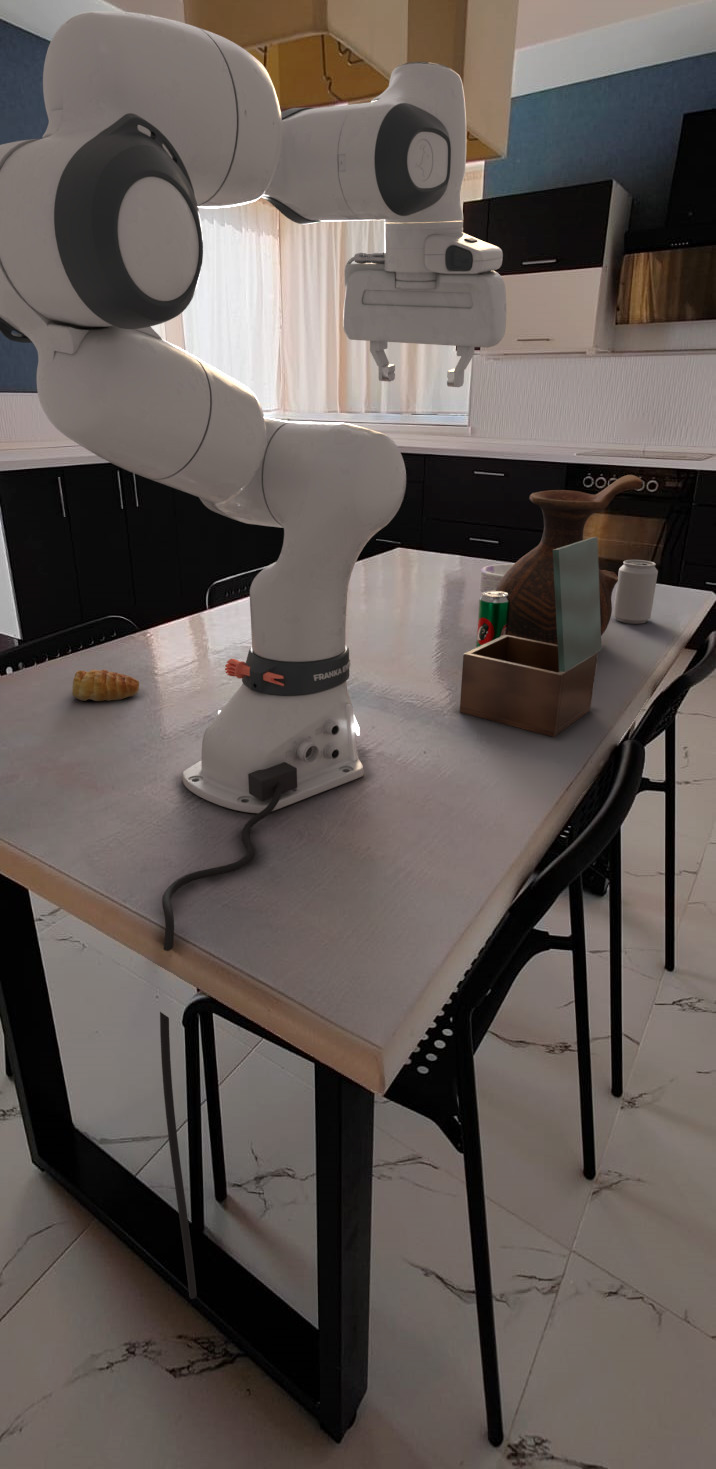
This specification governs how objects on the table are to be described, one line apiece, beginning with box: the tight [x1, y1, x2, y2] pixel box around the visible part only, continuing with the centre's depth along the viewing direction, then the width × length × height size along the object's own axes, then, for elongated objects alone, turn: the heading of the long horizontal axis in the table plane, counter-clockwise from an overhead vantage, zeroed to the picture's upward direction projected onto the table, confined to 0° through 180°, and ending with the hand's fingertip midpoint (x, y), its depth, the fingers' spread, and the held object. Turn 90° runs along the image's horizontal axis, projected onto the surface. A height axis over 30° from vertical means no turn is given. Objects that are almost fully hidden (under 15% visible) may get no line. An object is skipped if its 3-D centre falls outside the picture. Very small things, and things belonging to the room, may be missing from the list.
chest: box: [459, 635, 599, 738], centre depth 110 cm, size 15×13×9 cm
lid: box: [553, 536, 602, 672], centre depth 102 cm, size 16×13×1 cm
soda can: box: [475, 591, 510, 648], centre depth 130 cm, size 5×5×12 cm
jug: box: [495, 474, 643, 645], centre depth 137 cm, size 22×22×30 cm
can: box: [612, 559, 659, 625], centre depth 157 cm, size 8×8×12 cm
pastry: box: [71, 669, 140, 702], centre depth 115 cm, size 9×7×4 cm
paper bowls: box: [479, 563, 515, 594], centre depth 169 cm, size 15×15×8 cm
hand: (420, 383), depth 96 cm, fingers open, 8 cm apart
